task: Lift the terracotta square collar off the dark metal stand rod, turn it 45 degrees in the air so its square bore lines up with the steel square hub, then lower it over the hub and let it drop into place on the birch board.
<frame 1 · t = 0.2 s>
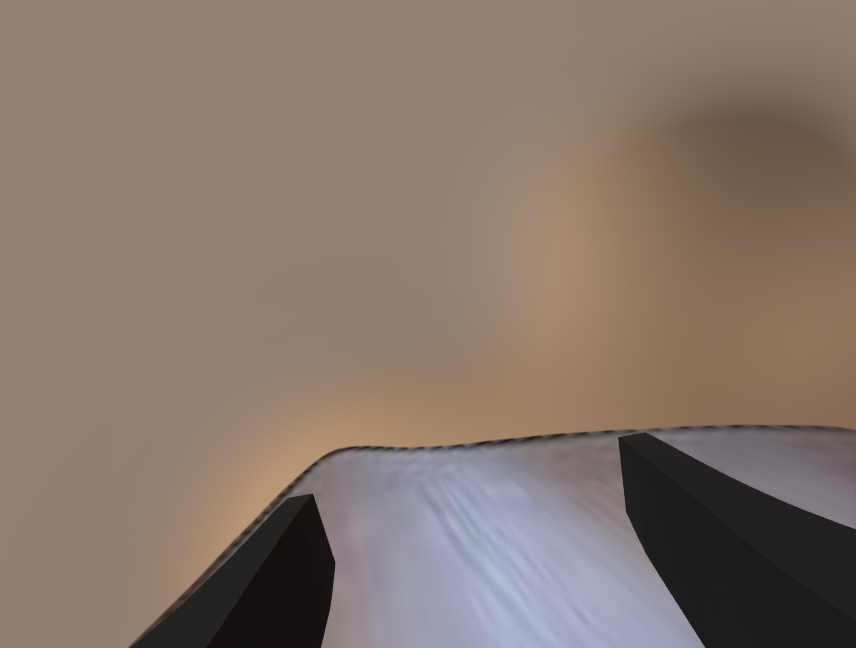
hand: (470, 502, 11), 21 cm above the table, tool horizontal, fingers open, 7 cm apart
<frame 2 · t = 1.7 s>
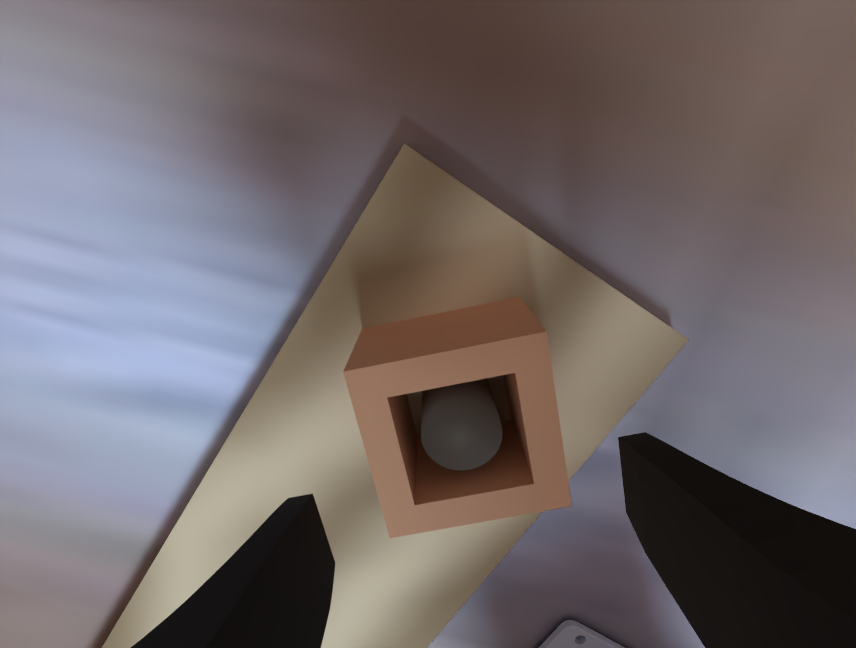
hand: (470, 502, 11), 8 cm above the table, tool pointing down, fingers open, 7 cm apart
board: (349, 517, 21), on the table
collar: (454, 385, 18), point 1 cm above the table, touching board
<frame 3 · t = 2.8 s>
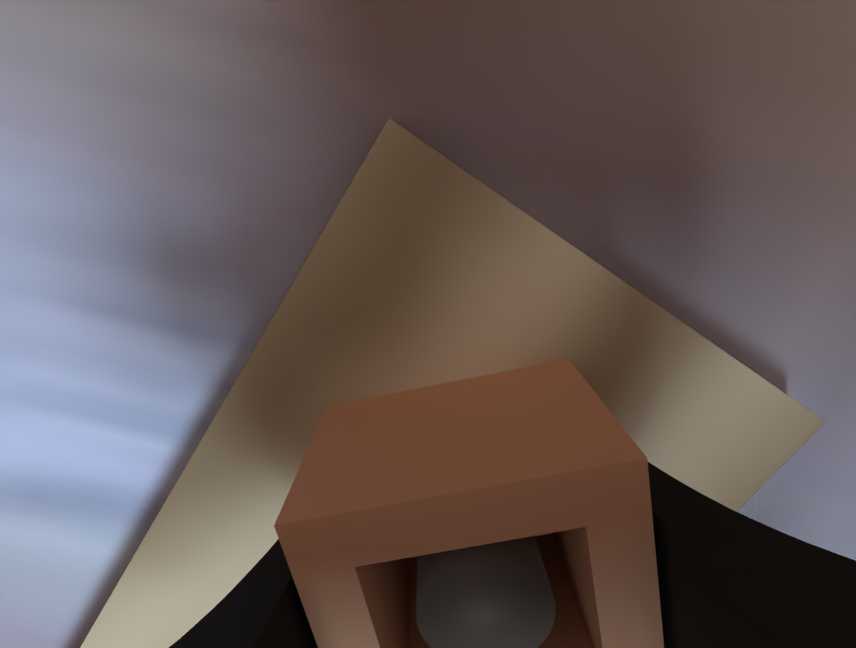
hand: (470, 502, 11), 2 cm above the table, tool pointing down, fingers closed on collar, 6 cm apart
collar: (468, 486, 12), point 1 cm above the table, touching board, gripper
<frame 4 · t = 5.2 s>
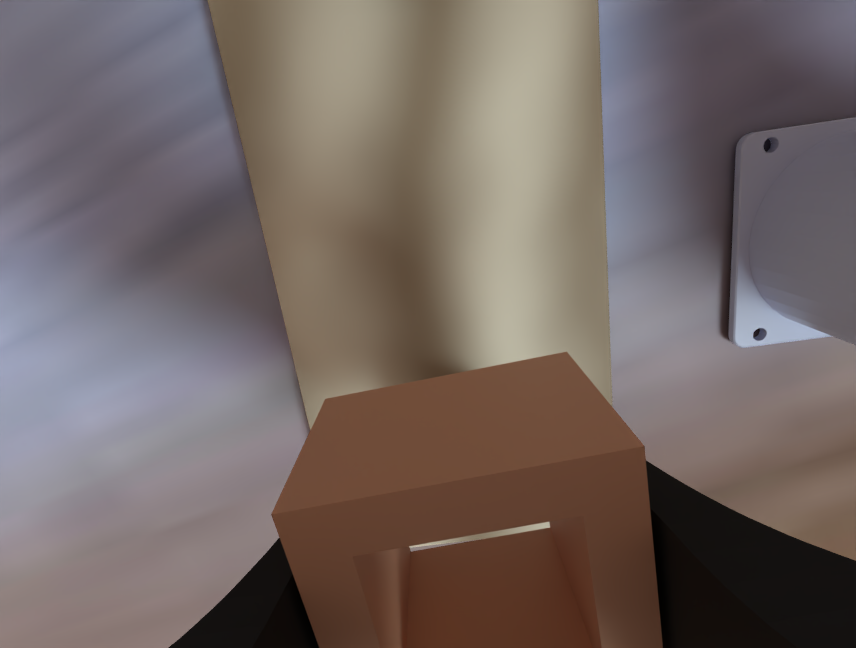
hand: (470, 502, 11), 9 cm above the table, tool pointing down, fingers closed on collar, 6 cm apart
board: (431, 208, 18), on the table
collar: (466, 479, 12), point 8 cm above the table, touching gripper
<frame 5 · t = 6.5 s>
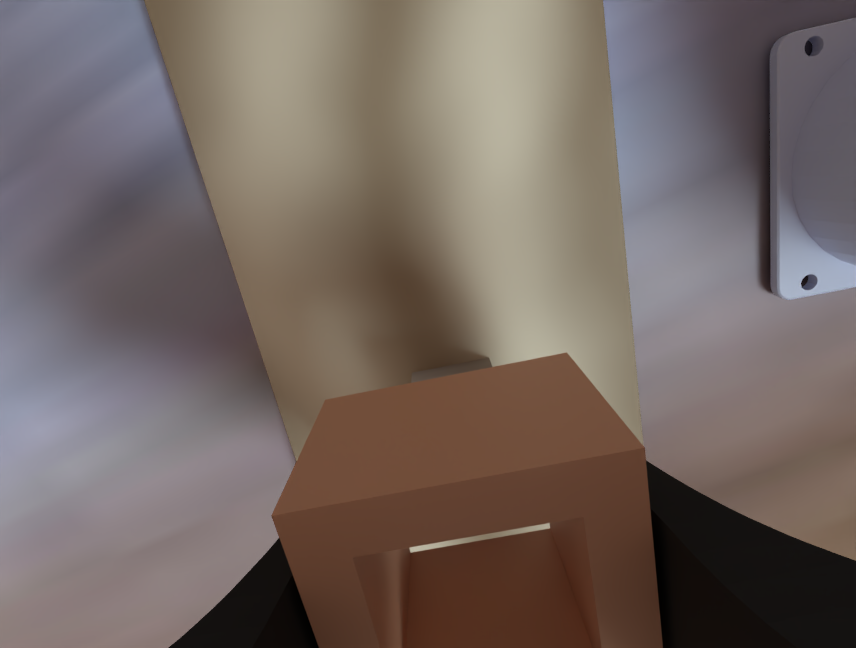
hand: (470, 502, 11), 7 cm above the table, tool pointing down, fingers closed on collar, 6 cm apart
board: (407, 156, 15), on the table
collar: (466, 480, 12), point 6 cm above the table, touching gripper
when the fingers open (3 cm above the table, at t = 7.7 s): collar drops 2 cm, resting on board.
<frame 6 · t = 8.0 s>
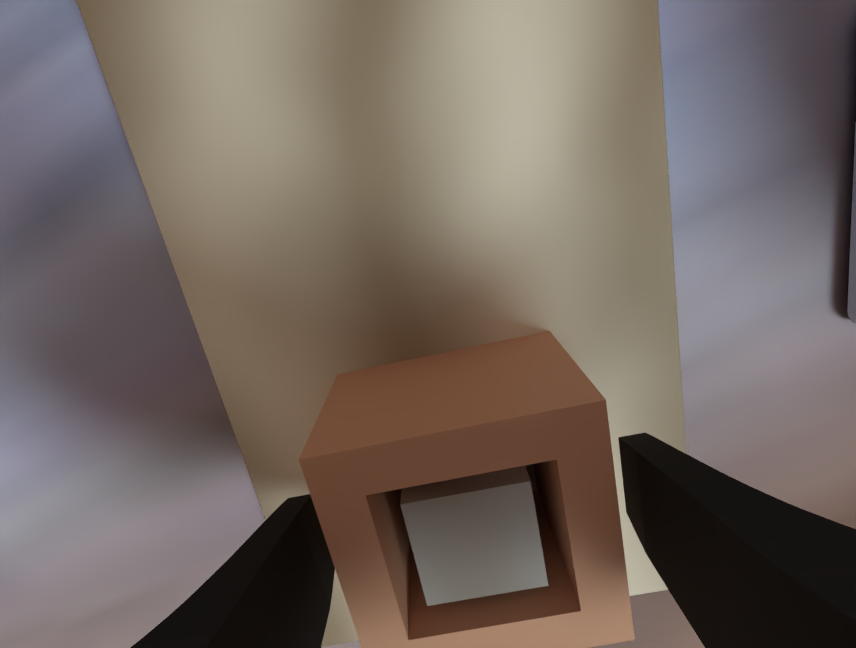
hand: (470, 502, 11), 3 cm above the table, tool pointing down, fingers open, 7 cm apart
board: (401, 151, 12), on the table
collar: (463, 446, 13), point 1 cm above the table, touching board
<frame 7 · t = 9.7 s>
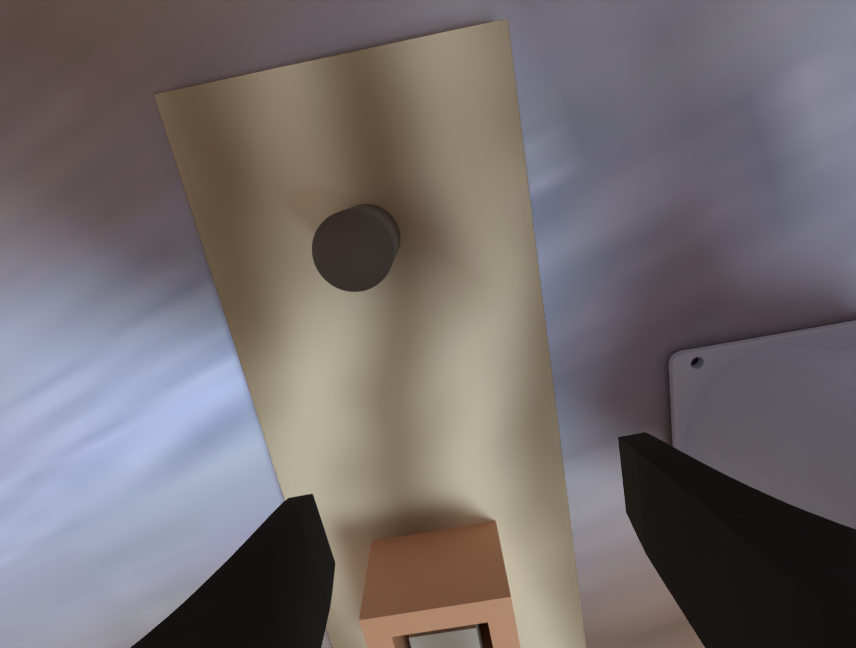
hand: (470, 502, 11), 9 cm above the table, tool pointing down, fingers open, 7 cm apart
board: (411, 416, 21), on the table
collar: (444, 581, 22), point 1 cm above the table, touching board
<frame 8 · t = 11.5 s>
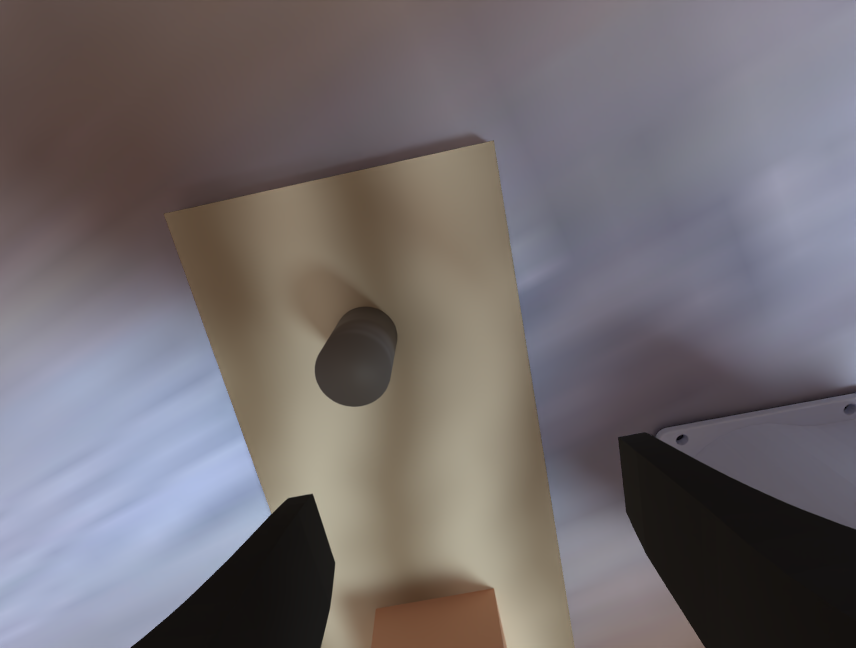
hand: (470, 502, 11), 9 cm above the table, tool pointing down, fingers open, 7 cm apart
board: (411, 490, 22), on the table
collar: (446, 643, 23), point 1 cm above the table, touching board
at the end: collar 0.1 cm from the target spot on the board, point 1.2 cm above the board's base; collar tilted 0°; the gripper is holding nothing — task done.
